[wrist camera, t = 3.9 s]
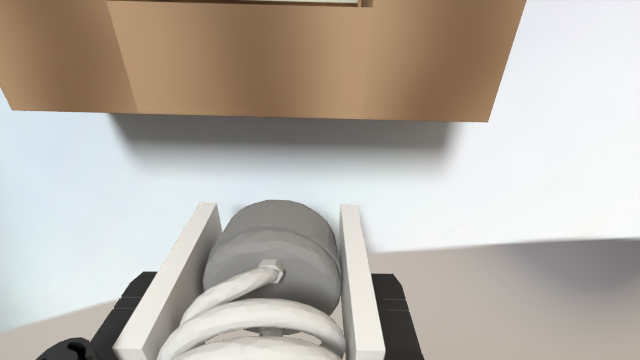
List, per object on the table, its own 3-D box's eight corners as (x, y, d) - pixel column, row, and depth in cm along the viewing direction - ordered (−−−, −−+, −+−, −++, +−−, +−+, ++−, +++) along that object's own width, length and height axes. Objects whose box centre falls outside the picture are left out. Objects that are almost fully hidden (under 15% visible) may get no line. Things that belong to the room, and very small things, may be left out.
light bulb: (222, 166, 14) (-44, 582, 4) (338, 159, 14) (372, 589, 4) (245, 252, 17) (125, 623, 7) (342, 248, 17) (368, 629, 7)
